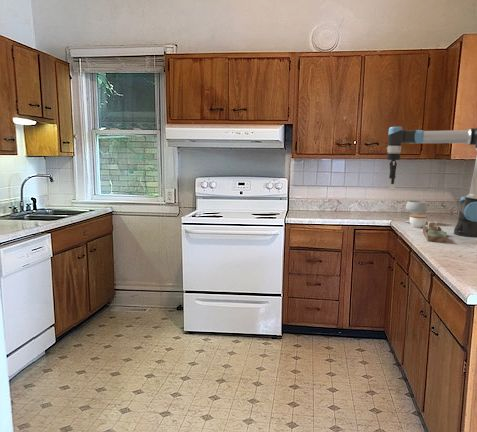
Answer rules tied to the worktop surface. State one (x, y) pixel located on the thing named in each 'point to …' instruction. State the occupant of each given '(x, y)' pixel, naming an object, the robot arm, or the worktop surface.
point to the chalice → (416, 207)
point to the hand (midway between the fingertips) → (391, 188)
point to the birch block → (432, 226)
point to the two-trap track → (434, 234)
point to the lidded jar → (418, 220)
